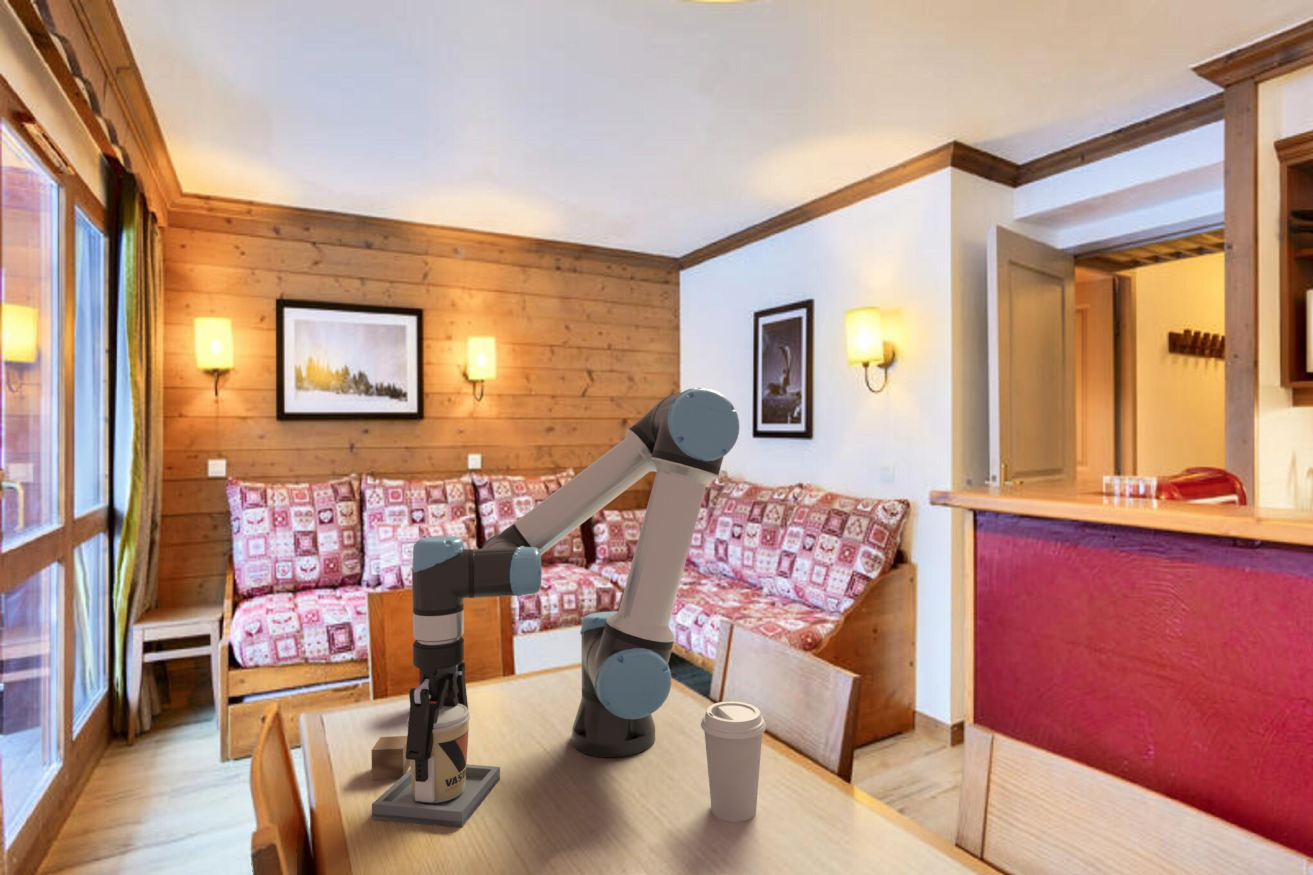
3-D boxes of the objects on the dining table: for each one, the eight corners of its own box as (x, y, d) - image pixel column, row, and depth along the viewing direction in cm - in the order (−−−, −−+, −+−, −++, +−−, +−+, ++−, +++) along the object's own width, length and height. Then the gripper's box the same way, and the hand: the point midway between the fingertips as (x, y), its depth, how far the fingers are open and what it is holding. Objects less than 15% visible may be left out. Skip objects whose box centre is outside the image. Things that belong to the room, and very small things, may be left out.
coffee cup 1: (452, 809, 103) (451, 727, 103) (394, 803, 105) (393, 722, 105) (480, 778, 113) (480, 703, 113) (427, 773, 114) (426, 699, 114)
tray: (499, 780, 115) (499, 766, 115) (462, 827, 101) (461, 811, 101) (419, 773, 117) (419, 760, 117) (371, 818, 103) (371, 803, 103)
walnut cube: (410, 764, 121) (410, 735, 121) (403, 778, 116) (403, 748, 116) (380, 766, 120) (380, 736, 120) (371, 780, 115) (371, 749, 115)
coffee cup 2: (700, 796, 109) (699, 699, 109) (762, 796, 109) (761, 699, 109) (702, 830, 100) (701, 724, 100) (770, 831, 99) (769, 724, 99)
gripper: (447, 619, 120) (448, 752, 120) (377, 658, 99) (378, 819, 99) (489, 621, 119) (490, 755, 119) (427, 660, 98) (428, 824, 98)
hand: (439, 784), depth 109 cm, fingers closed on coffee cup 1, 9 cm apart
